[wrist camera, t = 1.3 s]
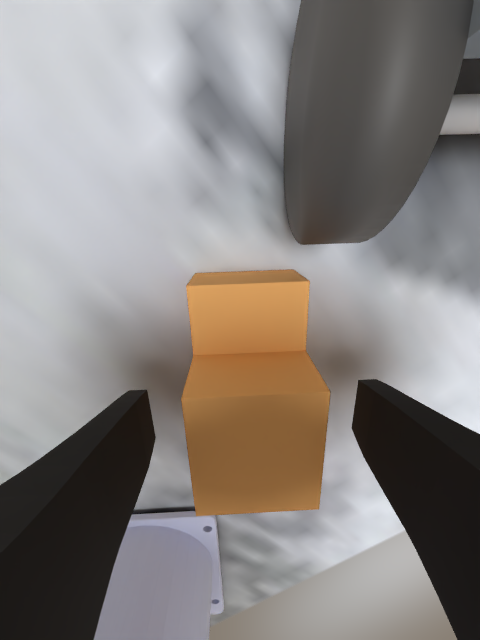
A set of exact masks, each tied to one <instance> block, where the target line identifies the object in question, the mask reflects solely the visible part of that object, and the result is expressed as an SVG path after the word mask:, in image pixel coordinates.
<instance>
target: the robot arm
mask: <svg viewBox="0 0 480 640" xmlns="http://www.w3.org/2000/svg"><path fill="white" fill-rule="evenodd" d="M352 430H353V432H354V435H355V437H356V440H357V442H358V445H359V447H360V449H361V452H362V454H363V456H364V458H365V460H366V462H367V464H368V465H369V467H370V469H371V471H372V472H373V474H374V476H375V478H376V480H377V481H378V483H379V485H380V486H381V488H382V490H383V492H384V493H385V495H386V497H387V499H388V500H389V502H390V504H391V506H392V507H393V509H394V511H395V512H396V514H397V516H398V518H399V519H400V521H401V523H402V525H403V526H404V528H405V530H406V532H407V533H408V535H409V537H410V539H411V541H412V543H413V545H414V547H415V549H416V550H417V552H418V555H419V557H420V559H421V561H422V563H423V565H424V567H425V570H426V571H427V573H428V576H429V578H430V580H431V582H432V584H433V586H434V589H435V591H436V593H437V595H438V597H439V599H440V602H441V604H442V606H443V608H444V610H445V613H446V615H447V617H448V619H449V622H450V624H451V626H452V628H453V631H454V633H455V635H456V637H457V640H480V434H478V433H476V432H474V431H472V430H470V429H468V428H466V427H464V426H462V425H460V424H458V423H457V422H455V421H453V420H451V419H449V418H447V417H445V416H443V415H442V414H440V413H438V412H436V411H434V410H432V409H431V408H429V407H427V406H425V405H423V404H422V403H420V402H418V401H416V400H414V399H413V398H411V397H409V396H407V395H405V394H404V393H402V392H400V391H398V390H396V389H395V388H393V387H391V386H389V385H387V384H385V383H383V382H381V381H379V380H377V379H371V380H358V387H357V394H356V401H355V408H354V415H353V423H352ZM155 438H156V437H155V432H154V426H153V420H152V415H151V409H150V404H149V398H148V392H147V390H131V391H128V392H126V393H125V394H123V395H122V396H121V397H120V398H118V399H117V400H116V401H114V402H113V403H112V404H111V405H109V406H108V407H107V408H106V409H105V410H103V411H102V412H101V413H100V414H98V415H97V416H96V417H95V418H93V419H92V420H91V421H89V422H88V423H87V424H86V425H84V426H83V427H82V428H81V429H79V430H78V431H77V432H76V433H74V434H73V435H72V436H70V437H69V438H67V439H66V440H65V441H63V442H62V443H61V444H59V445H58V446H57V447H55V448H54V449H53V450H51V451H50V452H48V453H47V454H46V455H44V456H43V457H42V458H40V459H39V460H37V461H36V462H35V463H33V464H32V465H30V466H29V467H27V468H26V469H24V470H23V471H21V472H20V473H18V474H17V475H15V476H14V477H12V478H11V479H9V480H8V481H6V482H4V483H3V484H1V485H0V640H209V630H210V615H213V614H220V613H222V612H223V610H224V598H223V587H222V576H221V565H220V554H219V542H218V531H217V520H216V515H208V516H196V512H195V511H183V512H166V513H149V514H132V513H133V510H134V507H135V504H136V502H137V499H138V496H139V493H140V491H141V488H142V485H143V482H144V480H145V477H146V474H147V471H148V468H149V464H150V460H151V456H152V452H153V447H154V443H155Z"/></svg>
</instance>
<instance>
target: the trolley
mask: <svg viewBox="0 0 480 640" xmlns="http://www.w3.org/2000/svg"><path fill="white" fill-rule="evenodd" d="M468 58H480V0H301V4H300V10H299V15H298V20H297V26H296V32H295V38H294V45H293V51H292V58H291V66H290V74H289V83H288V93H287V104H286V117H285V135H284V187H285V200H286V208H287V215H288V220H289V224H290V228H291V231H292V234H293V236H294V238H295V240H296V241H297V242H298V243H300V244H303V245H306V244H334V243H360V242H363V241H367V240H369V239H370V238H372V237H374V236H375V235H377V234H378V233H379V232H380V231H382V230H383V229H384V228H385V227H386V226H387V225H388V224H389V223H390V221H391V220H392V219H393V218H394V217H395V216H396V214H397V213H398V212H399V210H400V209H401V208H402V206H403V205H404V203H405V202H406V200H407V199H408V197H409V195H410V194H411V192H412V191H413V189H414V187H415V186H416V184H417V182H418V180H419V178H420V176H421V174H422V172H423V170H424V168H425V166H426V165H427V162H428V160H429V158H430V156H431V153H432V151H433V149H434V146H435V144H436V142H437V140H438V137H439V135H449V134H480V94H454V91H455V87H456V84H457V81H458V77H459V74H460V70H461V65H462V61H463V59H468Z"/></svg>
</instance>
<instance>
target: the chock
mask: <svg viewBox="0 0 480 640" xmlns="http://www.w3.org/2000/svg"><path fill="white" fill-rule="evenodd" d="M309 284H310V281H309V280H307V279H306V278H305V277H303V276H302V275H300V274H299V273H298V272H296V271H295V270H268V271H242V272H215V273H195V274H194V276H193V277H192V279H191V280H190V281H189V283H188V284H187V286H186V288H187V298H188V308H189V318H190V327H191V337H192V347H193V359H192V362H191V366H190V369H189V373H188V376H187V380H186V383H185V387H184V391H183V394H182V398H181V402H182V410H183V418H184V425H185V433H186V441H187V449H188V457H189V465H190V473H191V481H192V489H193V497H194V504H195V512H196V516H208V515H225V514H243V513H260V512H278V511H295V510H313V509H319V504H320V494H321V484H322V473H323V463H324V453H325V442H326V432H327V422H328V412H329V401H330V390H329V389H328V387H327V385H326V384H325V382H324V380H323V379H322V377H321V375H320V374H319V372H318V370H317V369H316V367H315V365H314V364H313V362H312V360H311V358H310V357H309V355H308V353H307V352H306V337H307V320H308V302H309Z"/></svg>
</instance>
